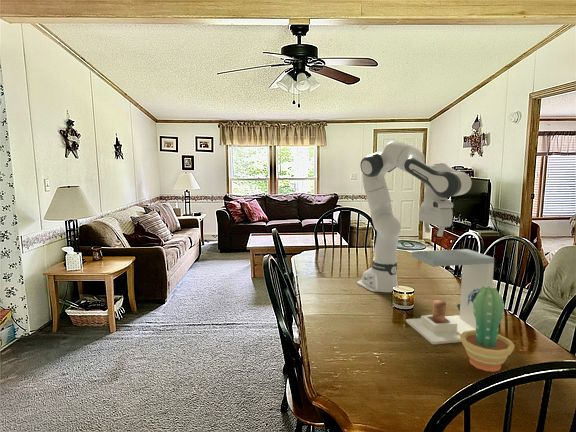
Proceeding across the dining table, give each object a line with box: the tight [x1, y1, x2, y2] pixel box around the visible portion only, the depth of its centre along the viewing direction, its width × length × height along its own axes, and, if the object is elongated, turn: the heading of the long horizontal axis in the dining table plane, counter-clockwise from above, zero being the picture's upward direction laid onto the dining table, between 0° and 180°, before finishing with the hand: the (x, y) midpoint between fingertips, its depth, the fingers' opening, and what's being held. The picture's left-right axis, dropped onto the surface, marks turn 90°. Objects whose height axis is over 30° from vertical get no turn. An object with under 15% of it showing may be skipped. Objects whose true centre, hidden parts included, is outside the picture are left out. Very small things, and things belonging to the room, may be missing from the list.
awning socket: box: [405, 248, 495, 345], centre depth 141 cm, size 20×24×30 cm
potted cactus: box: [460, 286, 516, 372], centre depth 117 cm, size 15×15×25 cm
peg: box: [432, 299, 447, 324], centre depth 143 cm, size 4×4×10 cm
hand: (433, 234), depth 159 cm, fingers open, 8 cm apart
